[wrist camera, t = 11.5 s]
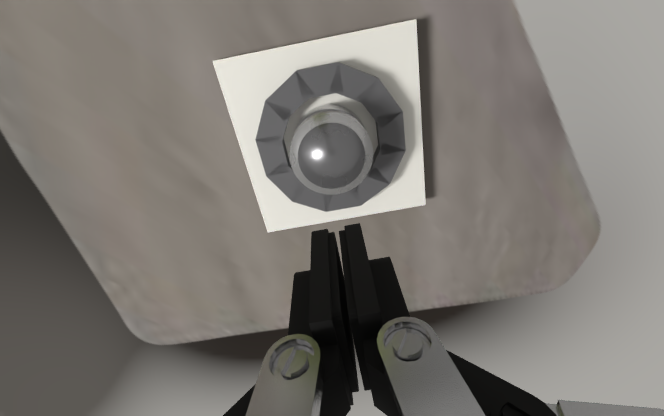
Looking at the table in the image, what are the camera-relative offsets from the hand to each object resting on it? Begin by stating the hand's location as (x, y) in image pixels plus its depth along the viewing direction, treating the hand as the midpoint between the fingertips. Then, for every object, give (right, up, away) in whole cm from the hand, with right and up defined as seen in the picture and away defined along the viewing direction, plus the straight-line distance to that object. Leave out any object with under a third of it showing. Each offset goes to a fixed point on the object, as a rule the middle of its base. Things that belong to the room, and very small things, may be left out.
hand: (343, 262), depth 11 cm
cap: (-1, +7, +15) cm, 17 cm away
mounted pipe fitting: (0, +8, +16) cm, 18 cm away
